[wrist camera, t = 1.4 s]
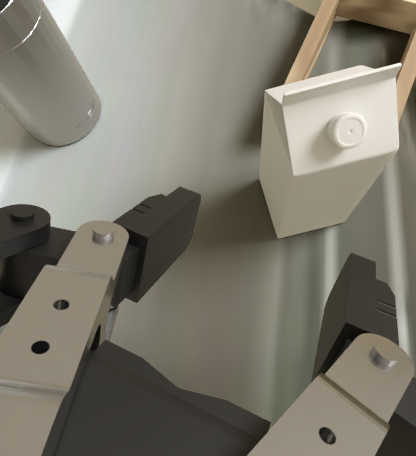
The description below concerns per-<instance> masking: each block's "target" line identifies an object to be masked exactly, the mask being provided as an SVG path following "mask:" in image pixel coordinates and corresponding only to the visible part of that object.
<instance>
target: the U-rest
mask: <svg viewBox="0 0 416 456" xmlns="http://www.w3.org/2000/svg"><path fill="white" fill-rule="evenodd" d="M336 15H337V16H341V17H345V18H349V19H353V20H356V21H360V22H364V23H368V24H372V25H376V26H380V27H384V28H388V29H391V30H395V31H399V32H403V33H407V34H411V35H410V37H409V40H408V43H407V45H406V48H405V51H404V53H403V56H402V58H401V61H400V63H401V65H402V66H401V68H400V70H399V72H398V73H397V75H396V93H397V114H398V123H399V121H400V118H401V115H402V112H403V109H404V107H405V104H406V101H407V98H408V96H409V93H410V90H411V87H412V84H413V82H414V79H415V76H416V0H323V1H322V3H321V6H320V8H319V10H318V12H317V14H316V16H315V18H314V21H313V23H312V25H311V27H310V29H309V31H308V34H307V36H306V38H305V40H304V42H303V44H302V47H301V49H300V51H299V53H298V55H297V57H296V60H295V62H294V64H293V66H292V68H291V70H290V73H289V75H288V77H287V79H286V81H285V83H284V85H286V84H290V83H294V82H298V81H302V80H306V79H308V77H309V75H310V73H311V71H312V68H313V66H314V64H315V62H316V59H317V57H318V55H319V53H320V50H321V48H322V46H323V44H324V41H325V39H326V37H327V35H328V32H329V30H330V28H331V26H332V23H333V21H334V19H335V17H336Z"/></svg>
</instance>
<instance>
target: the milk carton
mask: <svg viewBox="0 0 416 456" xmlns="http://www.w3.org/2000/svg"><path fill="white" fill-rule="evenodd" d="M401 66H402V65H401V63H397V64H393V65H389V66H385V67H381V68H378V69H373V68H369V67H366V66H363V65H360V66H356V67H352V68H348V69H344V70H340V71H336V72H333V73H329V74H325V75H321V76H317V77H313V78H309V79H306V80H302V81H298V82H294V83H290V84H286V85H282V86H279V87H275V88H271V89H267V90H265V97H264V112H263V127H262V142H261V157H260V172H259V180H260V183H261V186H262V189H263V193H264V196H265V199H266V202H267V206H268V209H269V212H270V216H271V219H272V222H273V225H274V229H275V232H276V235H277V238H284V237H288V236H292V235H296V234H300V233H304V232H308V231H311V230H315V229H319V228H323V227H327V226H331V225H335V224H339V223H343V222H345V221H346V219H347V218H348V217H349V215H350V214H351V212H352V211H353V210H354V208H355V207H356V206H357V204H358V203H359V202H360V200H361V199H362V198H363V196H364V195H365V194H366V192H367V191H368V190H369V188H370V187H371V186H372V184H373V183H374V182H375V180H376V179H377V178H378V176H379V175H380V173H381V172H382V171H383V169H384V168H385V167H386V165H387V164H388V163H389V161H390V160H391V159H392V157H393V156H394V155H395V153H396V152H397V150H398V149H399V134H398V114H397V93H396V75H397V73H398V72H399V70H400V68H401Z"/></svg>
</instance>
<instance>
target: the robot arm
mask: <svg viewBox="0 0 416 456" xmlns="http://www.w3.org/2000/svg"><path fill="white" fill-rule="evenodd" d="M0 103H1V104H2V105H3V106H4V107H5V108H6V109H7V110H8V111H9V112H10V113H11V114H12V115H13V116H14V117H15V118H16V119H17V120H18V121H19V122H20V123H21V124H22V125H23V126H24V127H25V128H26V129H27V130H28V131H29V132H30V133H31V134H32V135H33V136H34V137H35V138H36V139H37V140H39V141H40V142H42V143H44V144H47V145H52V146H63V145H67V144H71V143H74V142H76V141H78V140H80V139H81V138H83V137H84V136H86V135H87V134H88V133H89V132H90V131H91V130H92V128H93V127H94V126H95V124H96V122H97V120H98V118H99V115H100V110H101V109H100V100H99V97H98V95H97V93H96V91H95V90H94V88H93V86H92V84H91V83H90V81H89V79H88V77H87V76H86V74H85V72H84V70H83V68H82V67H81V65H80V63H79V62H78V60H77V58H76V56H75V55H74V53H73V51H72V50H71V48H70V46H69V44H68V43H67V41H66V39H65V38H64V36H63V34H62V32H61V31H60V29H59V27H58V26H57V24H56V22H55V20H54V19H53V17H52V15H51V13H50V12H49V10H48V8H47V7H46V5H45V3H44V1H43V0H0ZM200 200H201V195H200V194H198V193H196V192H193V191H190V190H188V189H185V188H183V187H178V188H177V189H176V190H174V191H173V192H172V193H170V194H169V195H168V196H165V195H162V194H160V195H156V196H151V197H148V198H147V199H145V200H144V201H142V202H141V203H140V204H138V205H137V206H135V207H134V208H133V209H131V210H129V211H128V212H126V213H125V214H124V215H122V216H121V217H119V218H118V219H116V220H115V221H114V222H108V221H92V222H88V223H85V224H83V225H81V226H80V227H79V228H78V230H77V231H70V230H65V229H60V228H55V227H50V214H49V213H48V212H47V211H46V210H44V209H43V208H40V207H38V206H34V205H27V204H18V205H11V206H6V207H3V208H0V327H1V326H3V325H5V324H7V323H8V322H9V323H8V324H7V326H6V328H5V329H4V331H3V332H2V334H1V336H0V456H416V379H415V378H414V377H413V375H414V366H413V363H412V361H411V359H410V358H409V356H408V355H407V354H406V353H405V352H404V351H403V349H401V348H400V347H399V340H398V328H397V318H396V309H395V307H396V305H395V295H394V294H393V292H392V291H391V289H390V287H389V286H388V284H387V283H385V282H382V281H380V280H377V279H376V263H375V262H374V261H372V260H369V259H366V258H364V257H361V256H359V255H356V254H353V253H351V254H350V255H349V257H348V259H347V260H346V262H345V264H344V266H343V268H342V270H341V272H340V274H339V276H338V278H337V280H336V282H335V284H334V286H333V288H332V290H331V292H330V295H329V297H328V300H327V302H326V305H325V309H324V315H323V320H322V326H321V331H320V337H319V342H318V348H317V353H316V359H315V364H314V370H313V375H312V381H311V384H310V385H309V386H308V387H307V388H306V390H305V391H304V392H303V393H302V394H301V395H300V396H299V397H298V399H297V400H296V401H295V402H294V403H293V404H292V405H291V407H290V408H289V409H288V410H287V411H286V412H285V413H284V414H283V416H282V417H281V418H280V419H279V420H278V421H277V422H276V424H275V425H274V426H273V427H272V428H271V429H270V430H269V427H270V423H271V422H269V421H267V420H265V419H263V418H261V417H259V416H257V415H255V414H253V413H251V412H249V411H247V410H245V409H243V408H241V407H239V406H237V405H235V404H233V403H231V402H229V401H227V400H223V399H219V398H215V397H211V396H207V395H203V394H199V393H195V392H191V391H187V390H183V389H180V388H178V387H176V386H175V385H174V384H173V383H171V382H170V381H169V380H168V379H167V378H165V377H164V376H163V375H162V374H161V373H160V372H158V371H157V370H156V369H155V368H154V367H152V366H151V365H150V364H149V363H148V362H146V361H145V360H144V359H143V358H141V357H139V356H137V355H135V354H133V353H131V352H129V351H127V350H125V349H123V348H121V347H119V346H117V345H115V344H113V343H111V342H109V340H110V337H111V333H112V330H113V327H114V324H115V320H116V317H117V314H118V309H119V304H120V303H121V302H122V300H123V299H124V298H127V299H129V300H131V301H134V302H136V303H137V302H138V301H139V300H140V299H141V298H142V297H143V296H144V295H145V293H146V292H147V291H148V290H149V289H150V288H151V287H152V286H153V285H154V283H155V282H156V281H157V280H158V279H159V278H160V277H161V276H162V275H163V274H164V272H165V271H166V270H167V269H168V268H169V267H170V266H171V265H172V264H173V262H174V261H175V260H176V259H177V258H178V257H179V256H180V255H181V254H182V252H183V251H184V250H185V249H186V247H187V246H188V244H189V242H190V239H191V237H192V233H193V229H194V225H195V221H196V217H197V213H198V209H199V205H200ZM268 430H269V431H268Z"/></svg>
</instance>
